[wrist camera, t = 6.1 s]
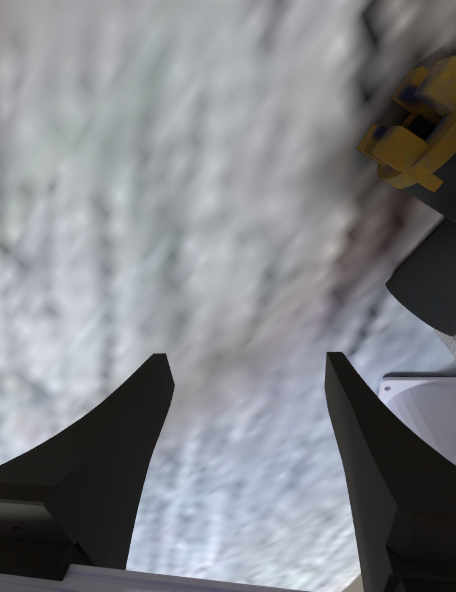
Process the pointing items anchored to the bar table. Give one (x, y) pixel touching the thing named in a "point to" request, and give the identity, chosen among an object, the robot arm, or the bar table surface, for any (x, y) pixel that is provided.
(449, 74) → the pipe connector
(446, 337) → the white long box
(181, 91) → the bar table surface
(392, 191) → the bar table surface
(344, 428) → the robot arm
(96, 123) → the bar table surface
